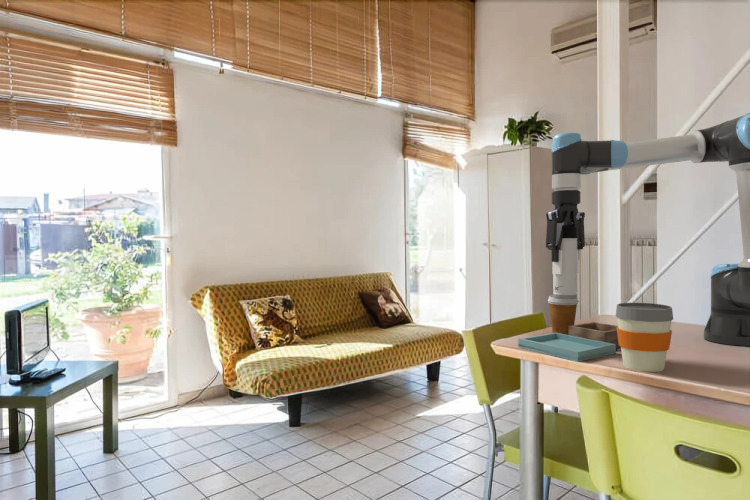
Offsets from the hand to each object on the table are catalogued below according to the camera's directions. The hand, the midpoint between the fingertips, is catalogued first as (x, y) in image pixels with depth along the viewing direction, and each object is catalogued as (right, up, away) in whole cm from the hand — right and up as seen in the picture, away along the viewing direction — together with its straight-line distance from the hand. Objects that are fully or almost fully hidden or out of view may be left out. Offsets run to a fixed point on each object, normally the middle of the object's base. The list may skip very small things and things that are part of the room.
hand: (565, 273), depth 145 cm
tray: (0, -22, +1) cm, 22 cm away
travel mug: (0, -7, 0) cm, 7 cm away
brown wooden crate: (+13, -21, +9) cm, 26 cm away
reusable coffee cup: (+13, -22, -17) cm, 31 cm away
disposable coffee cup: (+8, -21, +24) cm, 33 cm away
